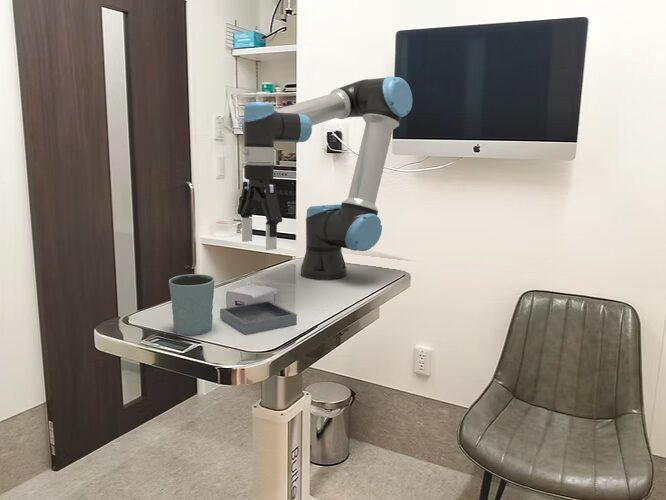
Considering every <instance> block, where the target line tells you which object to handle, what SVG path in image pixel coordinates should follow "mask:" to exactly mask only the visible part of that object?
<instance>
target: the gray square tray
mask: <svg viewBox="0 0 666 500" xmlns="http://www.w3.org/2000/svg"><path fill="white" fill-rule="evenodd" d="M219 314H220V315H219V316H220V317H219V318H220V320H221V321H223V322H224V323H225V324H228V325H229V326H231V327H232V328H233V329H236V331H238V332H240V333H241V334H244V336H245V335H251V334H256V333H260V332H261V333H262V332H266V331H271V330H277V329H280V328H286V327H290V326H291V327H292V326H295V325H297V324H298V323H297V322H298V321H297V316H298V314H296V313H294V312H292V311H290V310H288V309H287V308H285V307H282V306H281V305H278V304H276V303H275V302H274V303H273V302H271V301H265V302H259V303H253V304H247V305H241V306H235V307H225V308H224V307H223V308H220V309H219Z"/></svg>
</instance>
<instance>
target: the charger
mask: <svg viewBox="0 0 666 500" xmlns="http://www.w3.org/2000/svg"><path fill="white" fill-rule="evenodd" d="M278 293H279V292H278V289H277V288H274V287H270V286H263V285H257V284H253V283H249V284H246V285H243V286H240V287H239V286H238V287H237V288H233V289H230V290H228V291H226V292H225V305H226V308H229V307H235V306H241V305H247V304H253V303H259V302H265V301H271V302H273V303H275V295H277V294H278Z"/></svg>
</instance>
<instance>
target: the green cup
mask: <svg viewBox="0 0 666 500" xmlns="http://www.w3.org/2000/svg"><path fill="white" fill-rule="evenodd" d="M168 287H169V294H170V300H171V310H172V323H173V330H174V332H175V333H176V332H177V333H179V334H178V335H180V334H183V335H182V336H200V335H204V334H207V333H209V332H211V331H212V329H213V320H214V319H213V315H214V314H213V307H214V306H213V305H214V304H213V303H214V302H213V301H214V295H215V294H214V292H215V277H214V276H211V275H209V274H201V273H192V274H191V273H190V274H189V273H188V274H187V273H186V274H181V275H176V276H174V277H172V278H170V279H168ZM177 333H176V334H177Z"/></svg>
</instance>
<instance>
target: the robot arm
mask: <svg viewBox="0 0 666 500" xmlns="http://www.w3.org/2000/svg"><path fill="white" fill-rule="evenodd" d="M412 107H413V94H412V91H411V87H410V85H409V83H408V82H407V81H406V80H405V79H404V78H401V77H398V76H393V77H392V76H386V77H380V78H369V79H368V78H367V79H360V80H357V81H355V82H354V81H353V83H350V84H346V85H343V86H341V87H337V88H334V89H333V90H331V92H330V93H329V94H324V95H322V96H319V97H315V98H312V99H308V100H305V101H301V102H298V103H294V104H290V105H287V106H284V107H280V108H276V109H275V106H274V104H273V103H271V102H264V101H263V102H262V101H261V102H260V101H252V102H247V103H246V104H245V106H244V110H243V111H244V112H243V120H242V124H241V131H242V135H243V138H244V139H243V142H244V144H243V145H244V147H243V148H244V149H243V155H244V157H243V159H244V163H246V164H245V165H244V166H243V167H244V168H243V176H244V179H245V180H246V181H244V180H243V182H242V190H241V195H240V199H239V204H238V208H237V214H238V215H240V218H241V242H242V243H247V242H253V211H254V209H255V206H256V204H257V202H258V203H259V204H260V205H261V208H262V210H263V213H264V217H265V219H266V222H265V250H266V251H270V250H272V251H273V250H277V247H278V245H277V243H278V242H277V240H278V239H277V237H278V236H277V235H278V230H277V229H278V224H279V223H282V222H283V217H282V214H281V208H280V205H279V200H278V195H277V185H276V184H270V182H269V181H272V180H273V179H274V166H273V163H274V159H275V158H274V155H275V152H274V149H275V148H274V147H275V145H274V143H275V142H281V143H282V142H283V143H304V142H306V141H309V139H310V137H311V135H312V132H313V126H315V125H319V124H322V123H324V122H327V121H328V122H329V121H332V120H335V119H339V120H345V119H348V118H362V119H363V120H364V122H365V126H364V129H363V135H362V138H361V141H360V146H359V150H358V155H357V159H356V164H355V166H354V170H353V171H354V172H353V175H352V179H351V182H350V188H349V192H348V196H347V198H346V199H345V200H343V201H342V202H341V204H340V203H339V204H336V203H335V204H323V205H313V206H312V205H311V206H309V207H308V208H307V209H306V217H305V240H306V241H305V245H306V246H305V253H304V257H303V260H302V262H301V263H302V264H301V265H300V275H301V276H302V277H304V278H307V279H313V280H335V279H342V278H344V277H346V276H347V266H346V262H345V259H344V256H343V253H342V252H343V251H342V249H346V250H347V249H348V250H351V251H354V252H357V251H358V252H365V251H366V252H367V251H368V250H371V248H373V247H374V246H376V245H377V243H378V241H379V240H380V239H381V235H382V230H383V225H382V221H381V219H380V217H379V216H378V215H379V209H378V208H377V206H376V202H377V198H378V193H379V189H380V184H381V180H382V178H383V177H382V176H383V172H384V168H385V164H386V160H387V155H388V151H389V146H390V143H391V139H392V134H393V132H394V130H395V129H397V128H398V127H400V123H401V118H402V117H405V116H407V115H408V114H409V113H410V112H411V110H412ZM247 180H248V181H247Z"/></svg>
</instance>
